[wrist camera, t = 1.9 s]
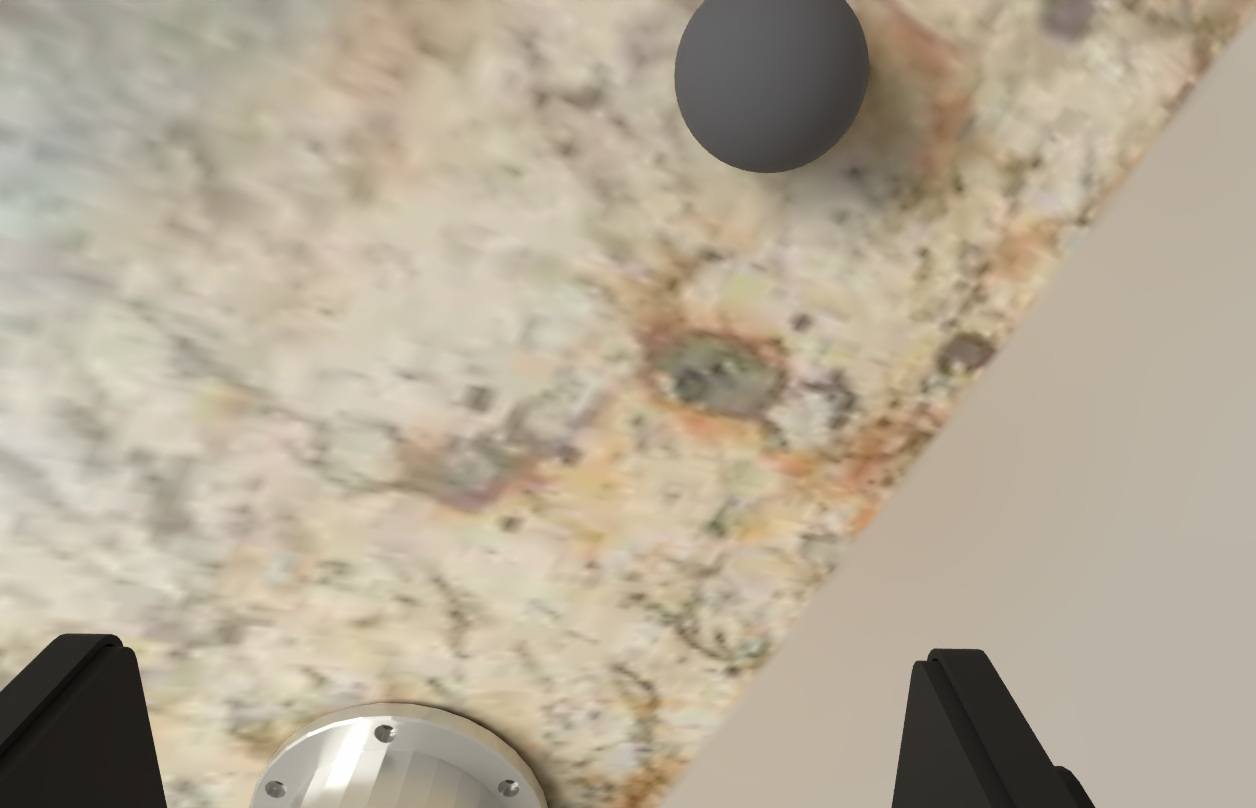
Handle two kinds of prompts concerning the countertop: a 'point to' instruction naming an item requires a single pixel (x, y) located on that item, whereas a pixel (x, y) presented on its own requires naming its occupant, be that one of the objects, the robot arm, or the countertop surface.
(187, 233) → the countertop surface
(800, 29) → the dark gray ball
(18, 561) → the countertop surface
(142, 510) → the countertop surface
